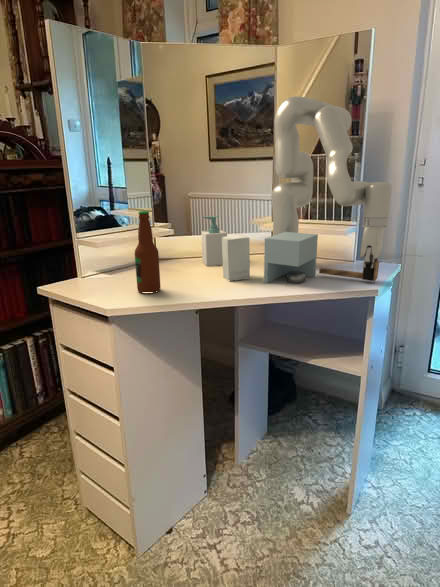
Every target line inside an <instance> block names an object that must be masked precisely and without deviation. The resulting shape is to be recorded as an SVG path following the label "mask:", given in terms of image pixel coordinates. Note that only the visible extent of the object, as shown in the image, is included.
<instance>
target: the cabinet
mask: <svg viewBox="0 0 440 587" xmlns="http://www.w3.org/2000/svg"><path fill="white" fill-rule="evenodd" d="M318 239H319V236H318V234H316V233H304V232H298V233H293V232H284V233H280V234H277V235H274V236H273V235H271V236H269V237H265V238H264V254H265V256H264V255H263V259H264V260H263V261H264V263H263V267H264V269H263V272H264V274H263V283H264V284H268V283H271V282H272V281H274V280H276V279H278V278H280V277H282V276H284V275H287V273H288V272H291V271H300V272H304V273H305V278H306V277H308V278H313V279H314V278H316V277H317V276H316V274H317V271H316V270H317V257H318V256H317V255H318V254H317V253H318Z"/></svg>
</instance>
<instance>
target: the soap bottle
mask: <svg viewBox="0 0 440 587" xmlns="http://www.w3.org/2000/svg"><path fill="white" fill-rule="evenodd" d="M217 218H219V215H216V216H202V219H205V220H206V219H207V220H211V224H209V225H210V226H209V227H210V228H208V230H201V256H202V258H201V259H202V260H201V262H202V261H203V262H204V263H203V262H202V263H203V264H204V265H205V266H206V267H213V266H212V265H217V266H223V255H222V237H228V233H227V232H226V231H224V230H222V229H220V228H219V227H218V224H216V222H217Z"/></svg>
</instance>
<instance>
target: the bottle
mask: <svg viewBox="0 0 440 587" xmlns="http://www.w3.org/2000/svg"><path fill="white" fill-rule="evenodd" d="M137 214H138V219H139V223H138V233H137V239H138V244H137V246H136V247H135V250H134V263H135V276H136V288H137V291H138V292H139V291H140V292H156V291H158V292H159V291H160V290H161V289H162V288H161V274H160V259H159V258H160V255H159V254H160V253H159V249H158V247H157V246H156V245H155V243H154V240H153V239H154V238H153V230H152V227H151V223H150V222H151V221H150V219H151V218H150V211H148V210H141V211H138V213H137ZM140 292H139V293H140ZM156 293H157V292H156Z"/></svg>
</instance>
